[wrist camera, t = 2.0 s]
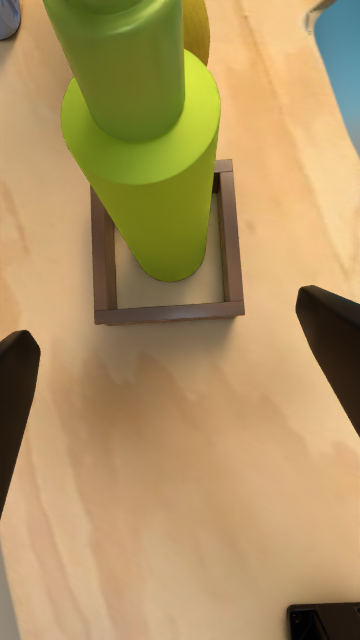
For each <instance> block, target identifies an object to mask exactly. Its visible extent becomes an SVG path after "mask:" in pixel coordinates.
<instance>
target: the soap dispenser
mask: <svg viewBox="0 0 360 640" xmlns="http://www.w3.org/2000/svg"><path fill="white" fill-rule="evenodd" d="M43 3H44V6H45V9H46V11H47V14H48V16H49V19H50V21H51V23H52V26H53V28H54V30H55V33H56V35H57V37H58V40H59V42H60V44H61V47H62V49H63V51H64V53H65V56H66V58H67V60H68V63H69V65H70V67H71V70H72V72H73V74H74V77H73V79H72V80H71V82H70V84H69V85H68V88H67V90H66V92H65V95H64V98H63V102H62V107H61V127H62V132H63V136H64V139H65V142H66V144H67V146H68V148H69V150H70V152H71V154H72V155H73V157H74V158H75V160H76V162H77V163H78V165H79V167H80V168H81V170H82V171H83V173H84V175H85V176H86V178H87V180H88V181H89V183H90V184H91V186H92V188H93V189H94V191H95V192H96V194H97V196H98V197H99V199H100V201H101V202H102V204H103V205H104V207H105V209H106V210H107V212H108V214H109V215H110V217H111V218H112V220H113V222H114V223H115V225H116V227H117V228H118V230H119V231H120V233H121V235H122V236H123V238H124V240H125V241H126V243H127V244H128V246H129V248H130V249H131V251H132V253H133V254H134V256H135V257H136V259H137V261H138V262H139V264H140V266H141V267H142V268H143V270H144V271H145V272H146V273H147V274H149V275H150V276H152V277H153V278H155V279H158V280H161V281H167V282H172V281H179V280H182V279H184V278H187V277H188V276H190V275H191V274H193V273H194V272H195V271H196V270H197V269H198V267H199V266H200V265H201V263H202V261H203V258H204V255H205V249H206V240H207V231H208V222H209V213H210V204H211V195H212V186H213V177H214V167H215V158H216V149H217V140H218V131H219V122H220V112H221V105H220V96H219V91H218V88H217V85H216V82H215V80H214V78H213V76H212V75H211V73H210V71H209V70H208V69H207V67H206V66H205V65H204V64H203V63H202V62H201V61H200V60H199V59H198V58H197V57H196V56H195V55H193V54H192V53H191V52H189V51H187V50H186V49H184V40H183V10H182V0H43Z"/></svg>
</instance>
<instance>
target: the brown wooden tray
mask: <svg viewBox="0 0 360 640" xmlns="http://www.w3.org/2000/svg"><path fill="white" fill-rule="evenodd" d="M90 191H91V223H92V255H93V288H94V320H95V324H96V325H100V324H104V325H108V326H112V325H128V324H144V323H159V322H175V321H191V320H207V319H223V318H236V317H237V316H242V315H245V310H244V298H243V286H242V274H241V262H240V250H239V238H238V226H237V214H236V202H235V190H234V178H233V166H232V159H227V160H215V167H214V177H213V186H212V193H217V202H218V215H219V228H220V241H221V254H222V267H223V280H224V293H225V302H221V303H206V304H190V305H175V306H159V307H144V308H128V309H117V300H116V274H115V249H114V223H113V220H112V218H111V217H110V215H109V214H108V212H107V210H106V209H105V207H104V205H103V204H102V202H101V201H100V199H99V197H98V196H97V194H96V192H95V191H94V189H93V188H92V186H91V184H90Z"/></svg>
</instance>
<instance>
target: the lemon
mask: <svg viewBox="0 0 360 640" xmlns="http://www.w3.org/2000/svg"><path fill="white" fill-rule="evenodd" d="M182 10H183V40H184V49H186V50H187V51H189V52H191V53H192V54H193V55H195V56H196V57H197V58H198V59H199V60H200V61H201V62H202V63H203V64H204V65H205V66H206V67H207V63H208V57H209V46H210V29H209V21H208V15H207V10H206V5H205V2H204V0H182Z"/></svg>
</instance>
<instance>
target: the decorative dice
mask: <svg viewBox="0 0 360 640" xmlns="http://www.w3.org/2000/svg"><path fill="white" fill-rule="evenodd" d="M19 24H20V5H19V0H0V40H2V39H6V38H8V37H10V36H11V35H13V34H14V33H15V32H16V30H17V29H18V27H19Z"/></svg>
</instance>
